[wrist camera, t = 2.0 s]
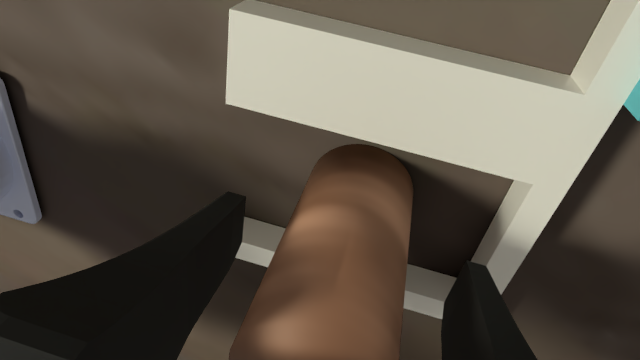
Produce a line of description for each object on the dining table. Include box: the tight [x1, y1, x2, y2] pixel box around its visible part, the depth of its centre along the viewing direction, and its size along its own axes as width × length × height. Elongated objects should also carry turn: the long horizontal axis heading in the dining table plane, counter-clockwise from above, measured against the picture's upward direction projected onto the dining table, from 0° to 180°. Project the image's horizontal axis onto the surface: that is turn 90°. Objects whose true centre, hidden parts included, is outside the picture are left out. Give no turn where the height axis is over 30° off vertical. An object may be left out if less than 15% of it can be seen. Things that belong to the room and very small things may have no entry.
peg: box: [229, 144, 413, 360], centre depth 13 cm, size 4×4×8 cm
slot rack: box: [226, 0, 640, 319], centre depth 13 cm, size 12×17×2 cm
